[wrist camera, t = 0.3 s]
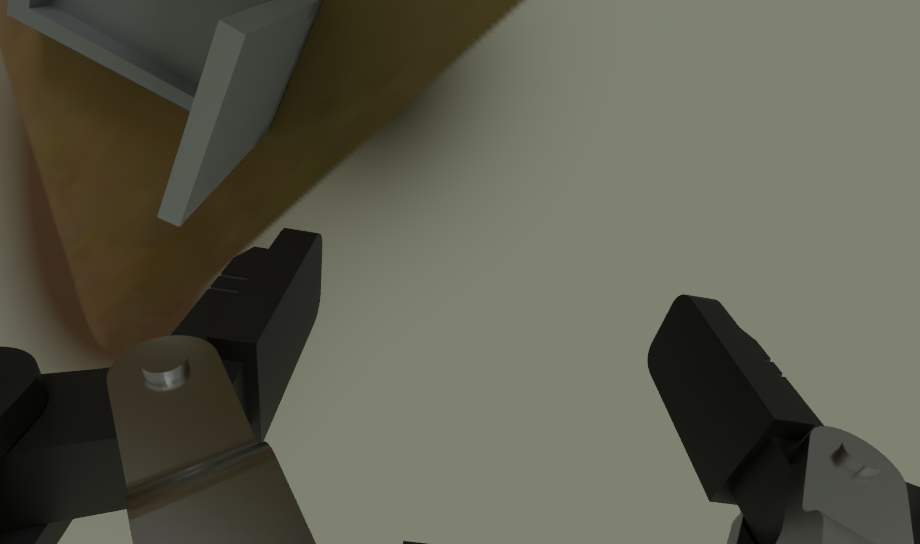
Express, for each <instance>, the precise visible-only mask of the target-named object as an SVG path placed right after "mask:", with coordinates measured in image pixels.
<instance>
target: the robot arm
mask: <svg viewBox="0 0 920 544" xmlns="http://www.w3.org/2000/svg"><path fill="white" fill-rule="evenodd" d="M321 264H322V236H321V234H318V233H312V232H307V231H300V230H294V229H288V228H284V229H283V230H282V231H281V232H280V234H279V235H278V236H277V238H276V239H275V241H274V242H273V244H272V245H271V246H270V248H269V249H266V248H259V247H253V248H251V249H249V250H247V251H245V252H244V253H242V254H240V255H238V256H236V257H234V258H233V259H232V260H231V262H230V263H229V264H228V265H227V267H226V268H225V269H224V270H223V271H222V273H221V276H218V278H217V279H216V280H215V281H214V283H213V284H212V285H211V289H208V290H207V291H206V292H205V294H204V295H203V296H202V297H201V299H200V300H199V301H198V302H197V303H196V305H195V306H194V307H193V308H192V310H191V311H190V312H189V313H188V315H187V316H186V317H185V318H184V320H183V321H182V322H181V323H180V324H179V326H178V327H177V328H176V329H175V331H174V332H173V333H172V334H171V336H164V337H159V338H155V339H151V340H147V341H145V342H142V343H140V344H138V345H136V346H134V347H132V348H130V349H128V350H127V351H125V352H124V353H123V354H121V355H120V356H119V357H118V358H117V359H116V360H115V361H114V362H113V364H112V365H111V367H109V368H102V369H93V370H82V371H71V372H61V373H49V374H41V373H40V370H39V367H38V365H37V362H36V360H35V358H34V357H32V356H31V355H30V354H29V353H27V352H25V351H23V350H20V349H17V348H10V347H0V544H57V543H58V541H59V540H60V538H61V537H62V535H63V534H64V532H65V531H66V529H67V528H68V526H69V524H70V523H71V521H72V520H73V519H75V518H80V517H86V516H91V515H96V514H102V513H107V512H113V511H118V510H124V509H127V513H128V519H129V524H130V530H131V535H132V540H133V544H316V543H315V541H314V539H313V537H312V534H311V532H310V530H309V528H308V526H307V523H306V521H305V519H304V517H303V515H302V512H301V510H300V508H299V506H298V504H297V501H296V499H295V497H294V495H293V493H292V491H291V488H290V486H289V484H288V482H287V480H286V478H285V476H284V473H283V471H282V469H281V467H280V464H279V462H278V460H277V458H276V456H275V454H274V452H273V450H272V448H271V447H270V446H269V444H268V443H267V442H263V441H264V439H265V436H266V434H267V432H268V429H269V427H270V425H271V422H272V420H273V417H274V415H275V413H276V411H277V408H278V406H279V404H280V401H281V399H282V397H283V394H284V392H285V390H286V387H287V385H288V382H289V380H290V378H291V376H292V373H293V371H294V369H295V366H296V364H297V362H298V359H299V357H300V355H301V353H302V350H303V348H304V346H305V343H306V341H307V339H308V336H309V334H310V332H311V329H312V327H313V325H314V322H315V319H316V316H317V312H318V308H319V303H320V294H321V266H322V265H321ZM648 368H649V372H650V374H651V376H652V379H653V381H654V383H655V385H656V387H657V389H658V391H659V394H660V395H661V398H662V400H663V402H664V404H665V406H666V408H667V411H668V413H669V415H670V417H671V419H672V422H673V423H674V426H675V428H676V430H677V432H678V434H679V437H680V438H681V441H682V443H683V445H684V447H685V449H686V452H687V454H688V456H689V458H690V460H691V462H692V465H693V467H694V469H695V471H696V473H697V475H698V477H699V479H700V482H701V484H702V486H703V488H704V490H705V492H706V495H707V497H708V499H709V501H711V502H719V503H727V504H735V505H738V506H739V508H740V510H741V513H740V514H739V515H738V516H737V517H736V518H735V520H734V521H733V523H732V526H731V530H730V533H729V537H728V541H727V544H920V487H918V486H915V485H912V484H910V483H907V482H905V481H904V479H903V477H902V475H901V474H900V472H899V471H898V469H897V468H896V467H895V466H894V465H893V464H892V463H891V462H890V461H889V460H888V459H887V458H886V457H885V456H884V455H883V454H882V453H881V452H879V451H878V450H877V449H876V448H874V447H873V446H872V445H870V444H869V443H867V442H865V441H864V440H862V439H860V438H859V437H857V436H855V435H853V434H850V433H849V432H846V431H843V430H841V429H838V428H834V427H829V426H824V425H823V424H822V423H821V421H820V420H819V419H818V418H817V417H816V415H815V414H814V413H813V411H812V410H811V409H810V408H809V406H808V405H807V404H806V403H805V401H804V400H803V399H802V398H801V396H800V395H799V394H798V393H797V391H796V390H795V389H794V388H793V386H792V385H791V384H790V383H789V381H788V380H787V379H786V377H782V372H781V371H780V370H779V369H778V367H777V366H776V365H775V364H774V363H773V362H770V357H769V356H768V355H767V354H766V352H765V351H764V350H763V349H762V347H761V346H760V345H759V344H758V342H757V341H756V340H754V339H753V338H752V337H751V336H749V335H748V334H747V333H746V332H744V331H743V330H742V329H741V328H740V327H739V326H738V325H737V324H736V322H735V321H734V320H733V318H732V317H731V316H730V315H729V313H728V312H727V311H726V310H725V308H724V307H723V306H722V304H721V303H720V302H719V301H717V300H715V299H708V298H703V297H697V296H690V295H680V296H678V297H677V298H676V299H675V301H674V302H673V304H672V306H671V308H670V309H669V311H668V313H667V315H666V317H665V319H664V321H663V323H662V325H661V327H660V328H659V330H658V332H657V334H656V336H655V338H654V340H653V342H652V344H651V346H650V349H649V353H648ZM403 544H425V543H416V542H406V541H403Z"/></svg>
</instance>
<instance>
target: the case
mask: <svg viewBox="0 0 920 544" xmlns="http://www.w3.org/2000/svg"><path fill="white" fill-rule="evenodd" d="M322 1H323V0H8V5H7V15H9V16H11V17H13V18H14V19H16V20H18V21H20V22H22V23H24V24H26V25H28V26H30V27H31V28H33V29H35V30H37V31H39V32H41V33H43V34H45V35H47V36H48V37H50V38H52V39H54V40H56V41H58V42H60V43H62V44H64V45H65V46H67V47H69V48H71V49H73V50H75V51H77V52H79V53H81V54H82V55H84V56H86V57H88V58H90V59H92V60H94V61H96V62H98V63H99V64H101V65H103V66H105V67H107V68H109V69H111V70H113V71H115V72H116V73H118V74H120V75H122V76H124V77H126V78H128V79H130V80H132V81H133V82H135V83H137V84H139V85H141V86H143V87H145V88H147V89H149V90H150V91H152V92H154V93H156V94H158V95H160V96H162V97H164V98H166V99H167V100H169V101H171V102H173V103H175V104H177V105H179V106H181V107H183V108H184V109H186V110H188V111H190V114H189V117H188V120H187V123H186V127H185V130H184V133H183V136H182V139H181V143H180V146H179V149H178V152H177V155H176V159H175V162H174V165H173V168H172V171H171V175H170V178H169V181H168V184H167V187H166V191H165V194H164V197H163V200H162V203H161V207H160V210H159V213H158V216H157V217H158V218H160V219H162V220H165V221H167V222H169V223H171V224H174V225H176V226H178V227H180V226H181V225H182V224H183V223H184V221H185V220H186V219H187V218H188V217H189V216H190V215H191V214H192V213H193V212H194V211H195V210H196V209H197V208H198V206H199V205H200V204H201V203H202V202H203V201H204V200H205V199H206V198H207V197H208V196H209V195H210V194H211V193H212V191H213V190H214V189H215V188H216V187H217V186H218V185H219V184H220V183H221V182H222V181H223V180H224V179H225V178H226V177H227V175H228V174H229V173H230V172H231V171H232V170H233V169H234V168H235V167H236V166H237V165H238V164H239V163H240V162H241V160H242V159H243V158H244V157H245V156H246V155H247V154H248V153H249V152H250V151H251V150H252V149H253V148H254V147H255V145H256V144H257V143H258V142H259V141H260V140H261V139H262V138H263V137H264V136H265V135H266V134H267V133H268V131H269V128H270V126H271V124H272V121H273V119H274V116H275V114H276V111H277V109H278V107H279V104H280V102H281V99H282V97H283V95H284V92H285V90H286V87H287V85H288V83H289V80H290V78H291V75H292V73H293V71H294V68H295V66H296V63H297V61H298V58H299V56H300V54H301V51H302V49H303V46H304V44H305V42H306V39H307V37H308V34H309V32H310V30H311V27H312V25H313V22H314V20H315V18H316V15H317V13H318V10H319V8H320V5H321V3H322Z"/></svg>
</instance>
